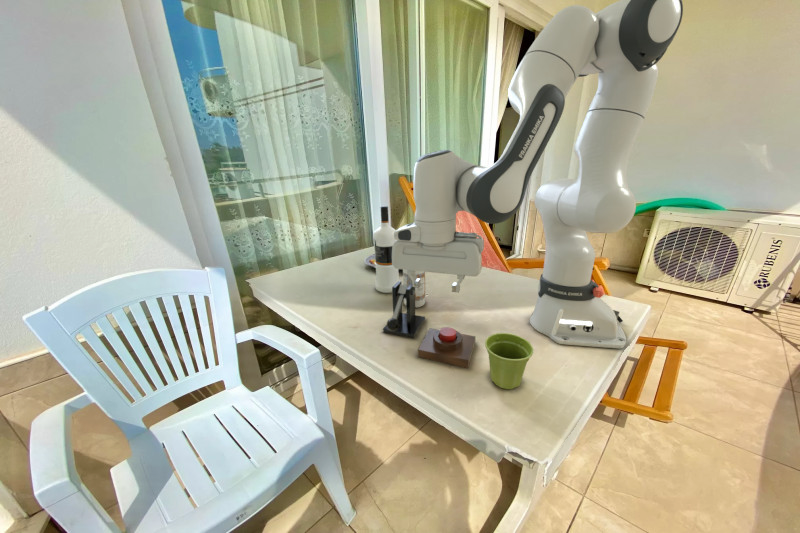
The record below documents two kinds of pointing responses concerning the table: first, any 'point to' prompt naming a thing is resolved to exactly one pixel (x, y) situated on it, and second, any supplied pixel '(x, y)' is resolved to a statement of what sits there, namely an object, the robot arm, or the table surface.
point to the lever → (397, 309)
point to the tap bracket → (409, 321)
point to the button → (447, 334)
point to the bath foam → (418, 291)
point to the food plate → (372, 261)
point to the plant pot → (507, 358)
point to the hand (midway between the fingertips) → (435, 288)
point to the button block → (447, 348)
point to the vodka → (384, 255)
